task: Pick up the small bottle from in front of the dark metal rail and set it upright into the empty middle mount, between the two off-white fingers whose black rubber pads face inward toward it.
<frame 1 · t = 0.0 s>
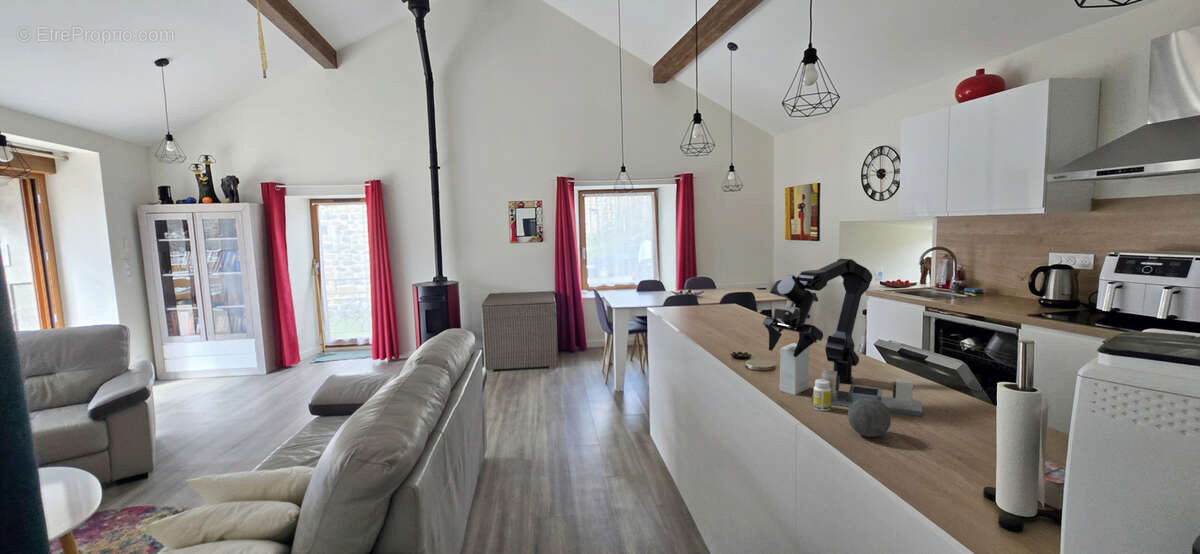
hand: (782, 353, 162), 15 cm above the counter, tool tilted 35°, fingers open, 9 cm apart
decorative ball: (868, 436, 137), on the counter
supplement bottle: (822, 409, 156), on the counter
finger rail: (865, 403, 159), on the counter
skincare box: (794, 391, 172), on the counter
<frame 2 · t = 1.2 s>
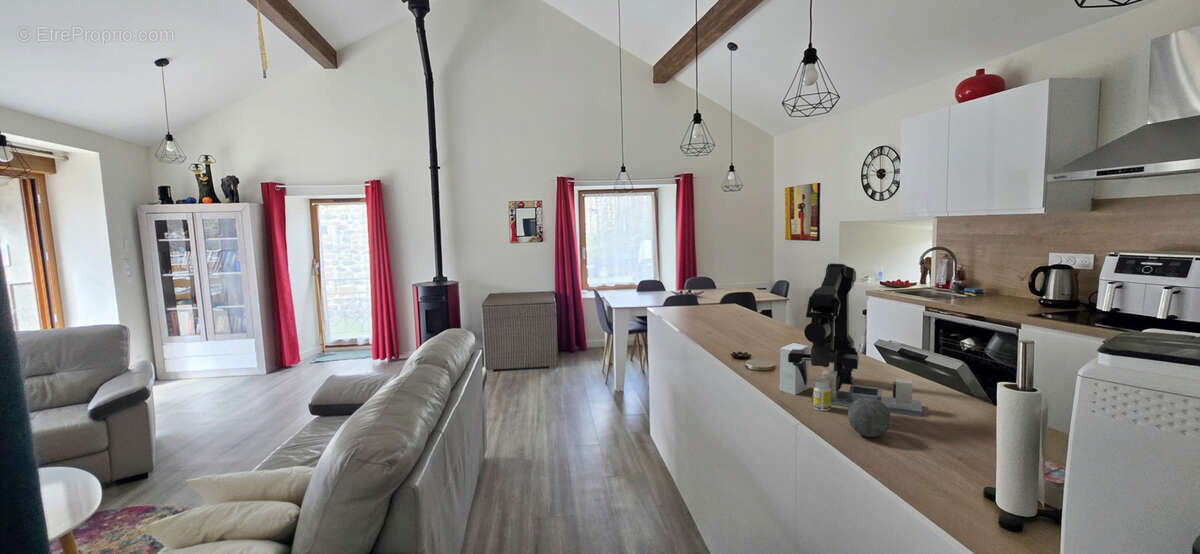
hand: (822, 386, 155), 7 cm above the counter, tool pointing down, fingers open, 9 cm apart
nothing on the counter moved.
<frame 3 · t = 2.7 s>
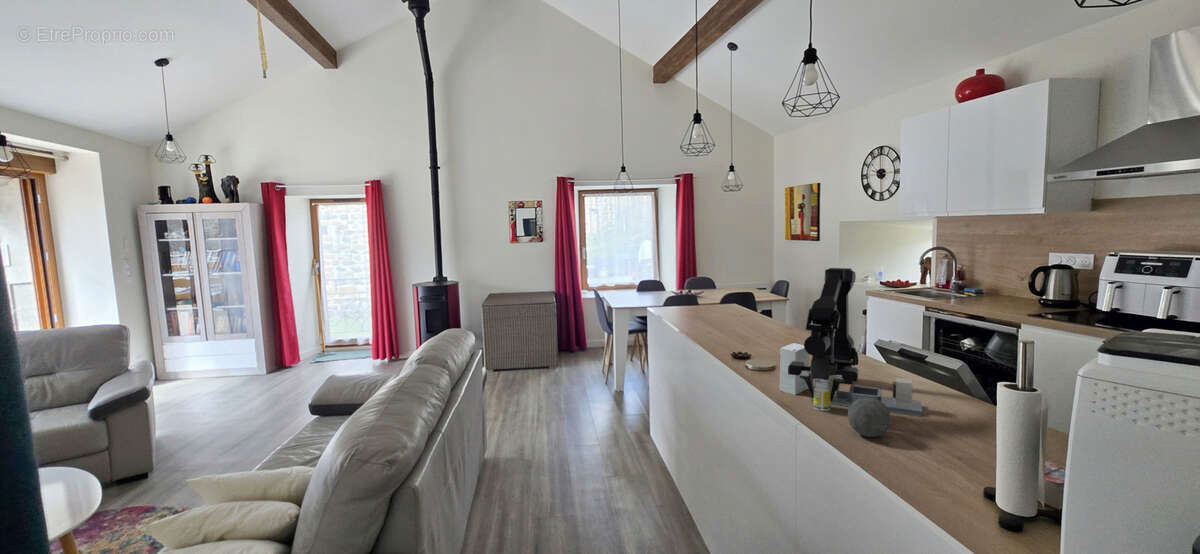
hand: (822, 399, 156), 3 cm above the counter, tool pointing down, fingers closed on supplement bottle, 5 cm apart
supplement bottle: (821, 409, 156), on the counter, touching gripper
everything else where it was.
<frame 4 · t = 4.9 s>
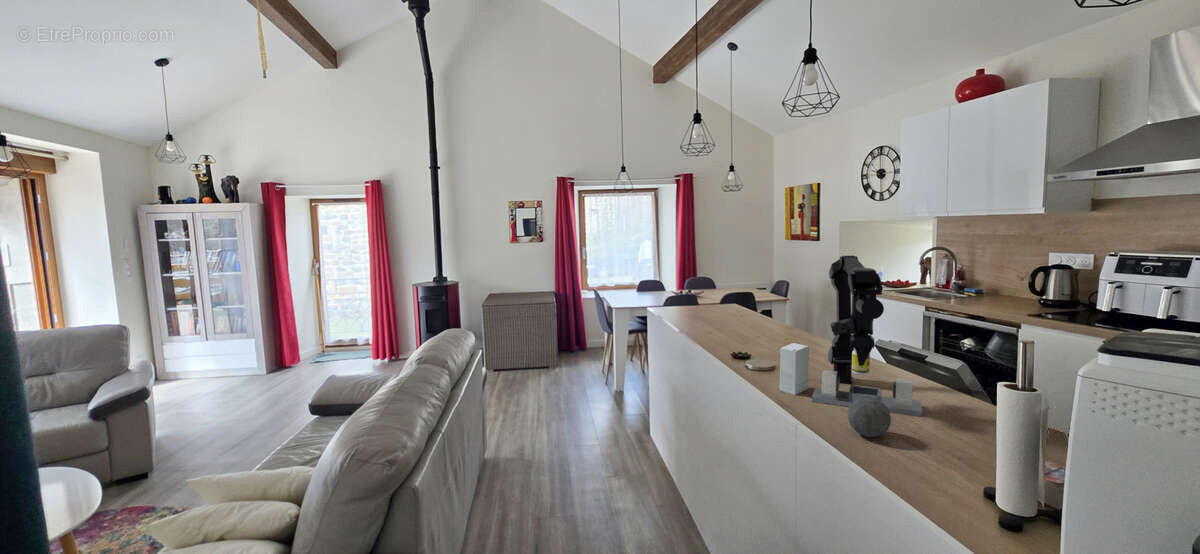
hand: (860, 363, 157), 13 cm above the counter, tool pointing down, fingers closed on supplement bottle, 5 cm apart
supplement bottle: (860, 372, 157), point 10 cm above the counter, touching gripper
everything else where it was.
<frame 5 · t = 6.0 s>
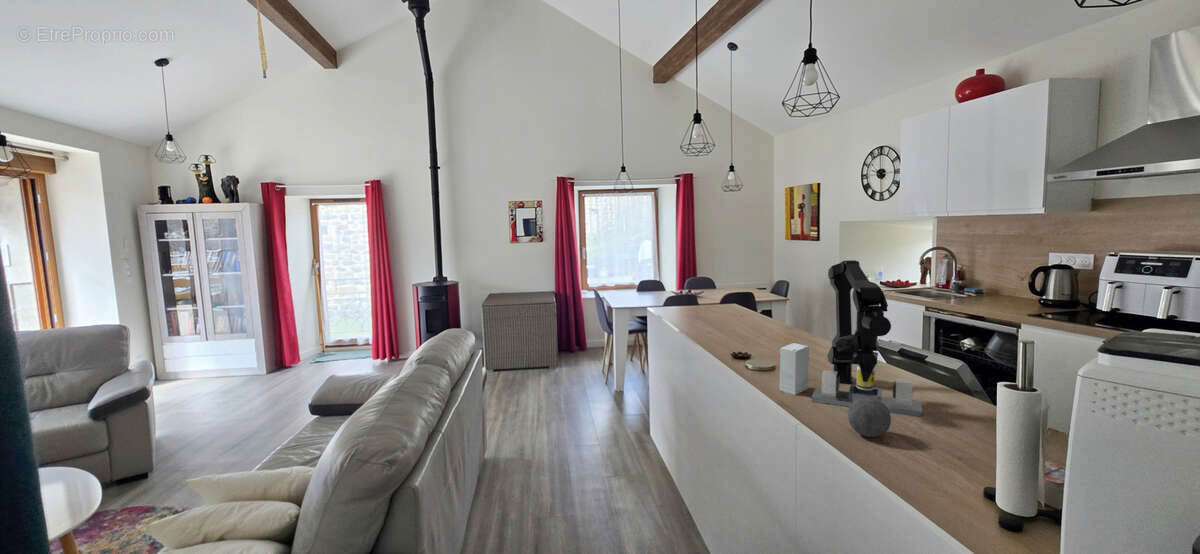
hand: (865, 379, 158), 8 cm above the counter, tool pointing down, fingers closed on supplement bottle, 5 cm apart
supplement bottle: (865, 388, 158), point 5 cm above the counter, touching gripper
everything else where it was.
when the fingers open (6 cm above the counter, at t = 7.1 s): supplement bottle drops 2 cm, resting on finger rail.
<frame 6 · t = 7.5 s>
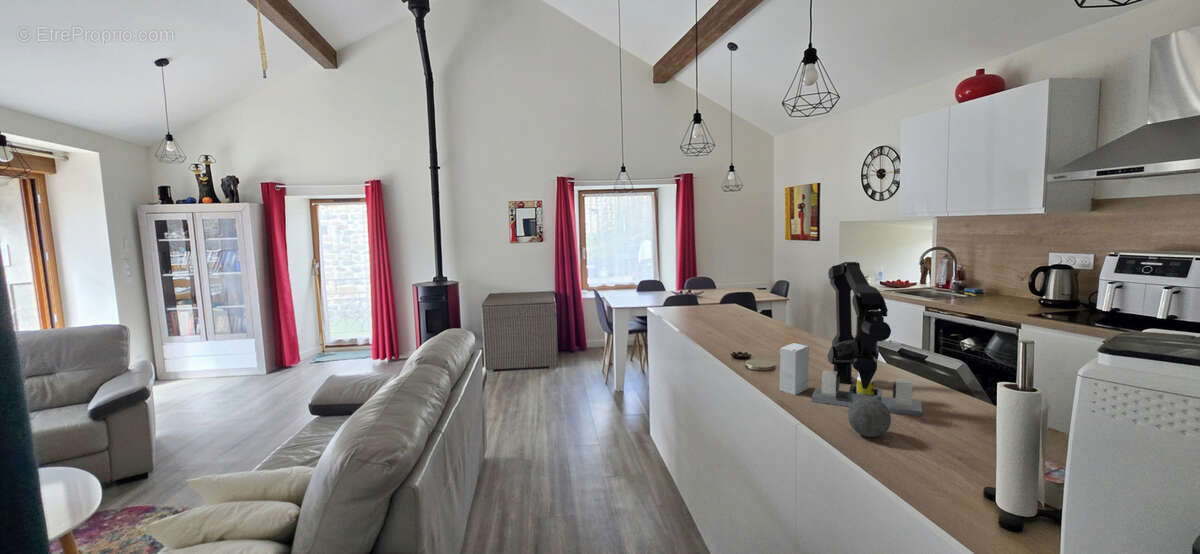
hand: (865, 383, 158), 6 cm above the counter, tool pointing down, fingers open, 9 cm apart
supplement bottle: (864, 399, 158), point 1 cm above the counter, touching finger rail
everything else where it was.
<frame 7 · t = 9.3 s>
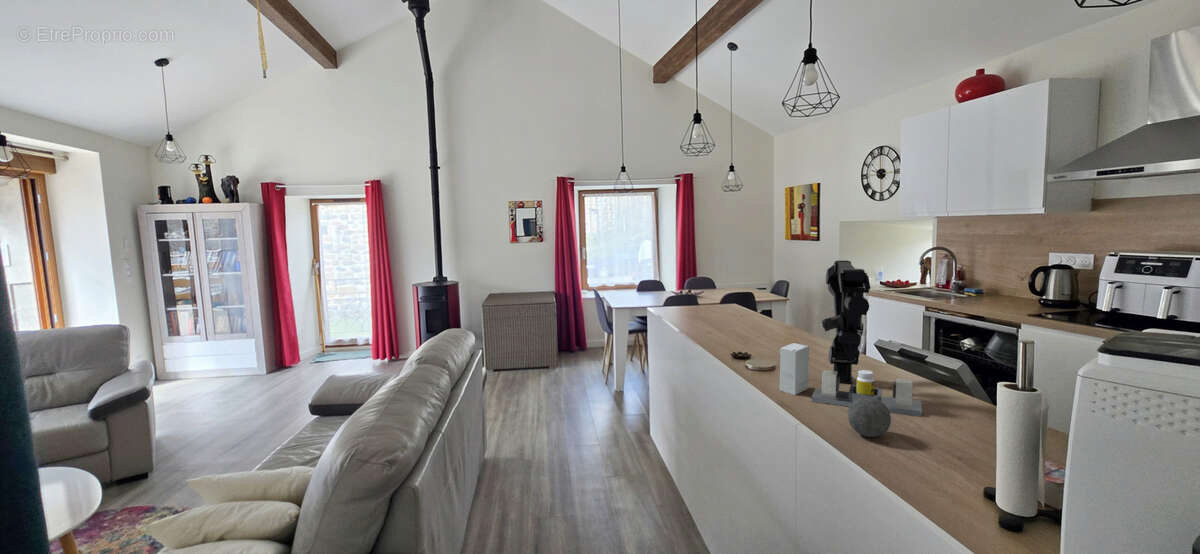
hand: (850, 357, 166), 12 cm above the counter, tool pointing down, fingers open, 9 cm apart
nothing on the counter moved.
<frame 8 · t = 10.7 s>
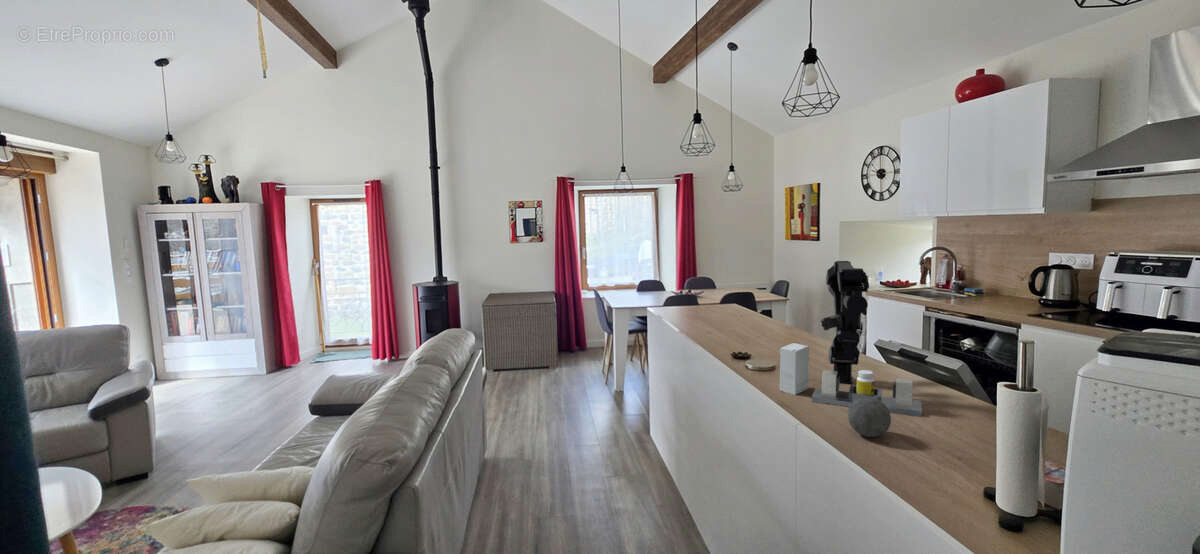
hand: (849, 356, 166), 12 cm above the counter, tool pointing down, fingers open, 9 cm apart
nothing on the counter moved.
at the end: supplement bottle 0.1 cm off-centre on the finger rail, point 1.3 cm above the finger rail's base; supplement bottle tilted 0°; the gripper is holding nothing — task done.
